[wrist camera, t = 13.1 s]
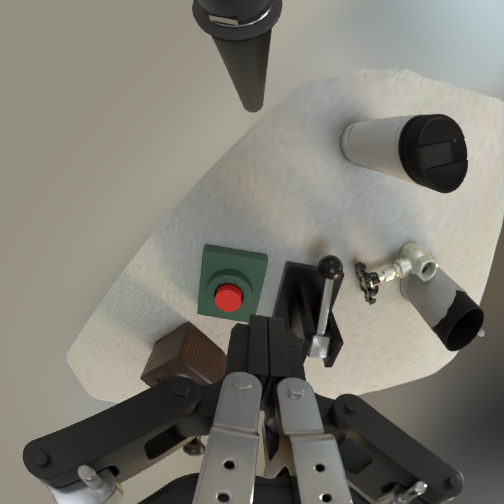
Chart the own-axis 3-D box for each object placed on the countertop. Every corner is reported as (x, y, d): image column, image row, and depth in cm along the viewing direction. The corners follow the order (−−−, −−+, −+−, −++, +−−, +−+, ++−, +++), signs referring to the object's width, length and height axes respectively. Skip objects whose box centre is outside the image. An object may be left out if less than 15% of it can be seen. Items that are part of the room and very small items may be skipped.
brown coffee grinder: (151, 344, 48) (118, 418, 31) (189, 319, 45) (161, 402, 28) (206, 389, 52) (193, 461, 36) (246, 370, 49) (242, 450, 33)
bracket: (286, 261, 40) (297, 311, 29) (342, 270, 41) (370, 319, 29) (270, 325, 45) (272, 382, 33) (320, 331, 45) (335, 386, 34)
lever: (316, 254, 35) (324, 252, 32) (338, 258, 35) (348, 256, 32) (300, 351, 34) (306, 357, 31) (322, 353, 34) (330, 359, 31)
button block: (206, 244, 40) (201, 255, 36) (267, 254, 40) (268, 266, 36) (199, 306, 44) (195, 320, 40) (254, 315, 44) (253, 330, 41)
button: (218, 281, 38) (216, 287, 36) (243, 285, 38) (243, 292, 36) (215, 302, 39) (213, 309, 38) (239, 306, 39) (239, 313, 38)
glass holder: (418, 250, 39) (470, 296, 25) (460, 277, 41) (505, 320, 27) (391, 293, 42) (431, 349, 28) (437, 313, 44) (474, 362, 30)
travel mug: (332, 127, 33) (406, 117, 14) (374, 119, 32) (469, 111, 13) (344, 170, 35) (422, 204, 16) (384, 161, 34) (480, 187, 16)
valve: (416, 230, 38) (351, 256, 40) (437, 245, 32) (365, 276, 34) (420, 264, 40) (359, 290, 42) (439, 283, 34) (373, 313, 36)
